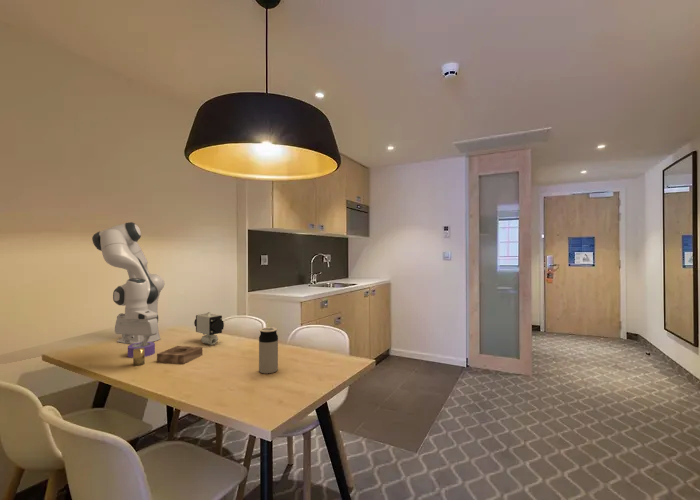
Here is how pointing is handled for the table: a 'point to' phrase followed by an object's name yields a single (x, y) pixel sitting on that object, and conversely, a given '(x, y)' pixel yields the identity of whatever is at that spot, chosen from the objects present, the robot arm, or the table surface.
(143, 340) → the robot arm
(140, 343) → the tape roll
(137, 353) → the cylinder
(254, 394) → the table surface
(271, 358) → the travel mug
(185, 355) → the block
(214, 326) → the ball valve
